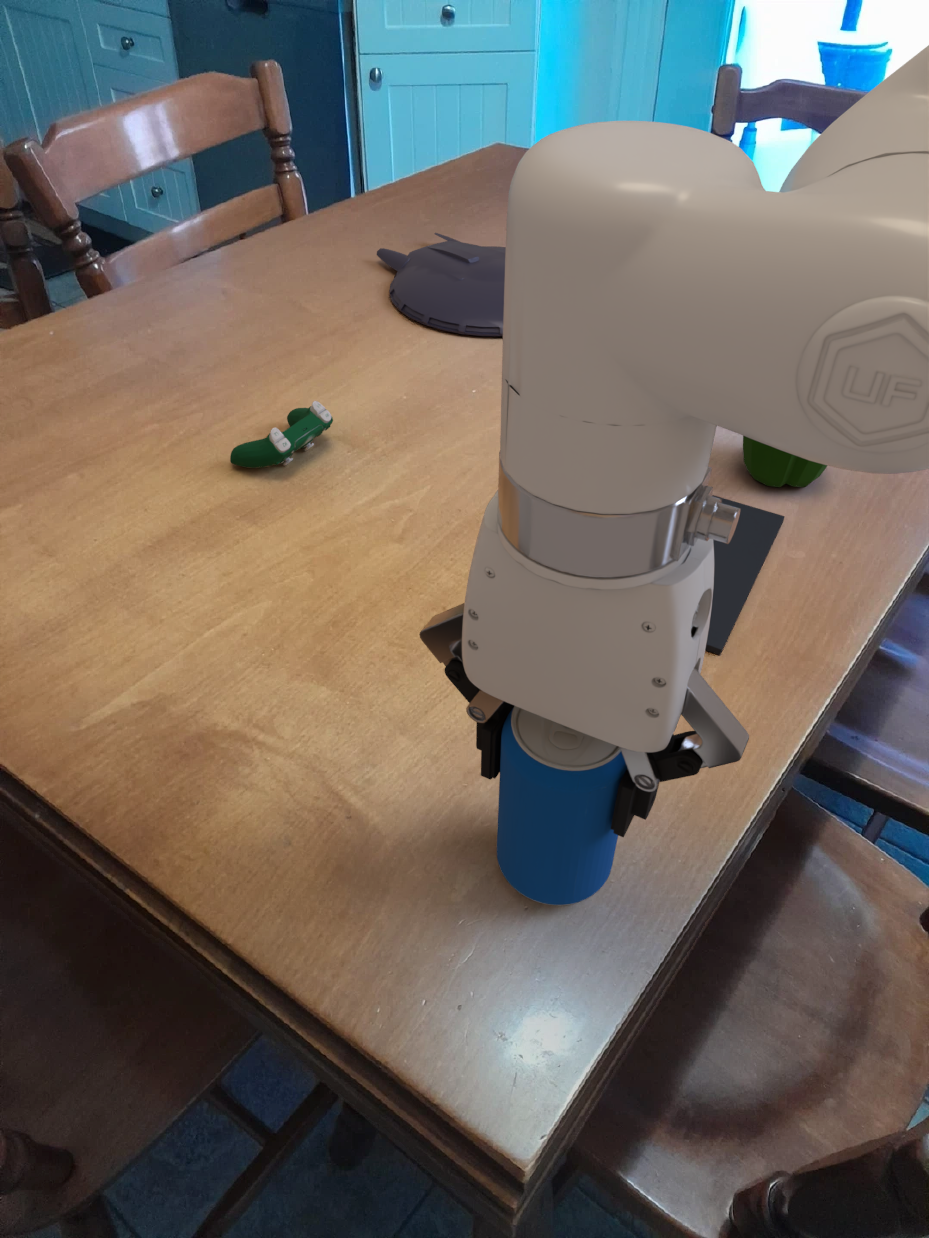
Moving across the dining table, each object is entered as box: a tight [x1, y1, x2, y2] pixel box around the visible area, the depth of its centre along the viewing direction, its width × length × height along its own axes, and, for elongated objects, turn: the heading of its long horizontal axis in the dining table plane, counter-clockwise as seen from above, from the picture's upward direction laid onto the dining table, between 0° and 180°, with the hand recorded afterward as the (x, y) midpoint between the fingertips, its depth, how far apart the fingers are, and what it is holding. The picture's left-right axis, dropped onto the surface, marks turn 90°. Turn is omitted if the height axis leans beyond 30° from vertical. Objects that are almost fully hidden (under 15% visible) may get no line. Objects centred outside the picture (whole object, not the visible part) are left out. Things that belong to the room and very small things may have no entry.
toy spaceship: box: [376, 232, 506, 337], centre depth 108 cm, size 28×24×3 cm
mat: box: [705, 494, 785, 656], centre depth 72 cm, size 16×18×1 cm
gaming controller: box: [229, 400, 334, 469], centre depth 80 cm, size 9×4×6 cm
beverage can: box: [496, 706, 627, 906], centre depth 47 cm, size 6×6×12 cm
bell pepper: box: [742, 435, 828, 488], centre depth 77 cm, size 8×8×10 cm
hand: (562, 783), depth 46 cm, fingers closed on beverage can, 6 cm apart
